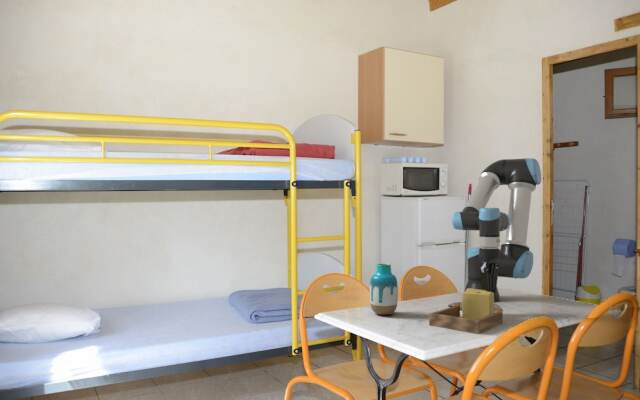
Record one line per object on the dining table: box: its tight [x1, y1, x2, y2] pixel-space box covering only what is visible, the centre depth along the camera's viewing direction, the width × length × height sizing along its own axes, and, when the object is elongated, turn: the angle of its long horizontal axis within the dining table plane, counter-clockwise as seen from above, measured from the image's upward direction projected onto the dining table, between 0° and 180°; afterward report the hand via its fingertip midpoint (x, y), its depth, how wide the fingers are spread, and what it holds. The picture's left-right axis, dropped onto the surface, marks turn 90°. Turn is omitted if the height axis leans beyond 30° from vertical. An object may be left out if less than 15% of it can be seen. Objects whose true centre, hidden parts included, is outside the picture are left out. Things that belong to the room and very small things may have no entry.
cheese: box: [461, 288, 496, 320], centre depth 197 cm, size 10×11×10 cm
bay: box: [428, 301, 504, 335], centre depth 188 cm, size 18×20×5 cm
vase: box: [369, 263, 399, 316], centre depth 204 cm, size 11×11×19 cm
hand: (489, 309), depth 204 cm, fingers closed
